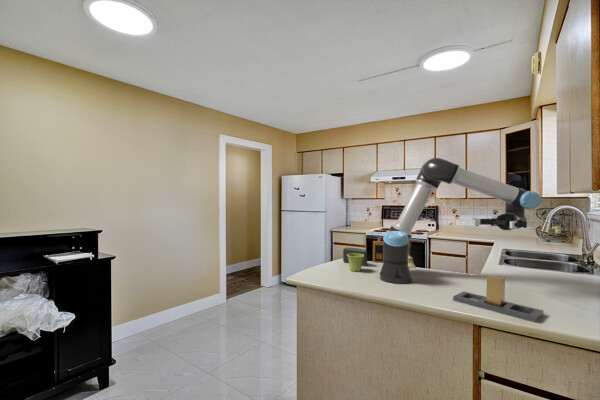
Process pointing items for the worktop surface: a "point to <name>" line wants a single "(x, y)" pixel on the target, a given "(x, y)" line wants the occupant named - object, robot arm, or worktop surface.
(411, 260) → the hand bell
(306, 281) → the worktop surface
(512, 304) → the grey slotted tray
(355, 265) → the plant pot
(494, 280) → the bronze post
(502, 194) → the robot arm
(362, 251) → the leaning round-cornered charcoal block
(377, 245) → the multimeter
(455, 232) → the worktop surface
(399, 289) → the worktop surface
